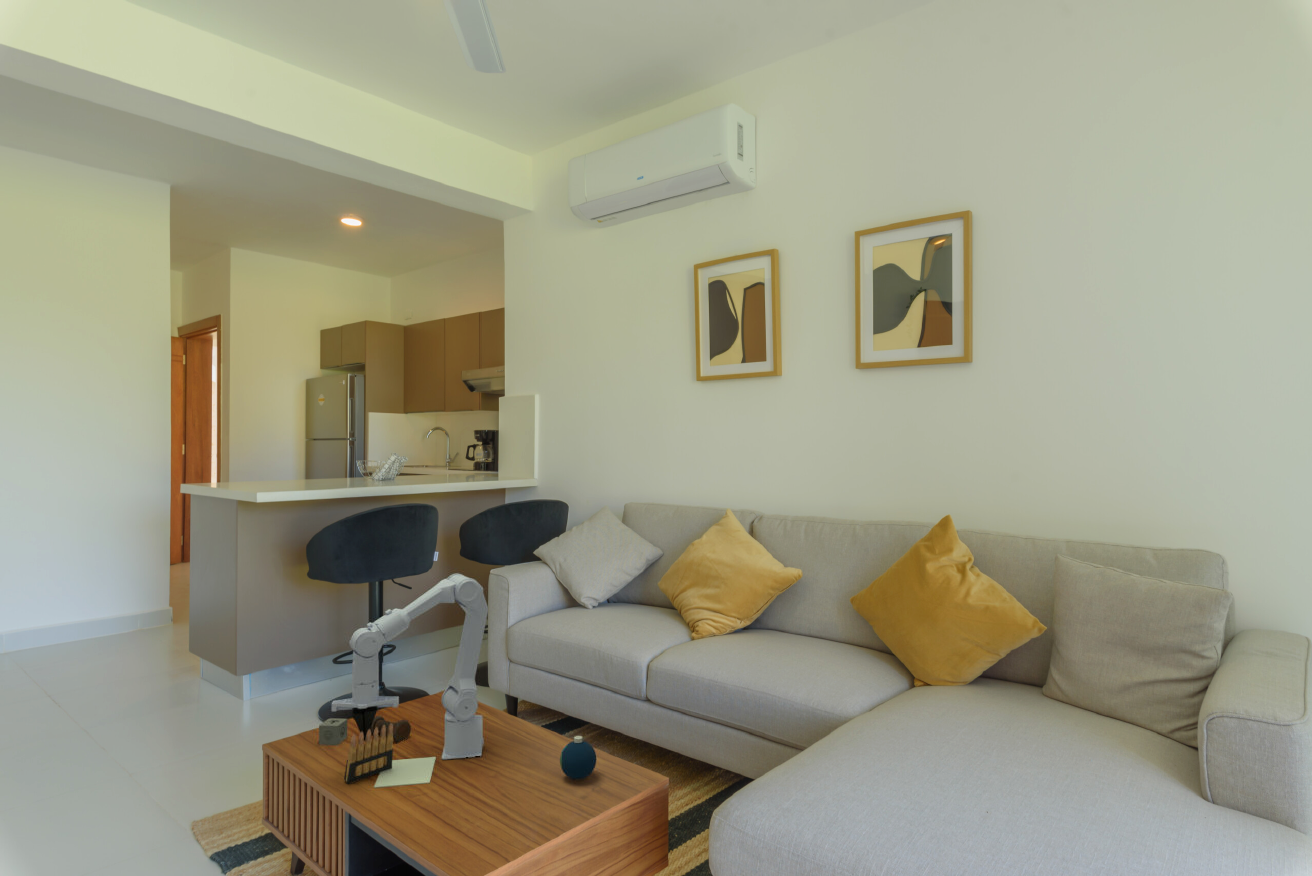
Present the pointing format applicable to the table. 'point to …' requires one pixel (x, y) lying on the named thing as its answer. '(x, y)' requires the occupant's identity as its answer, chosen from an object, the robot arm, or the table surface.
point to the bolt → (399, 728)
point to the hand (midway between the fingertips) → (365, 739)
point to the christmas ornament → (578, 759)
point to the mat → (407, 772)
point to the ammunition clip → (369, 755)
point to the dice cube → (332, 731)
